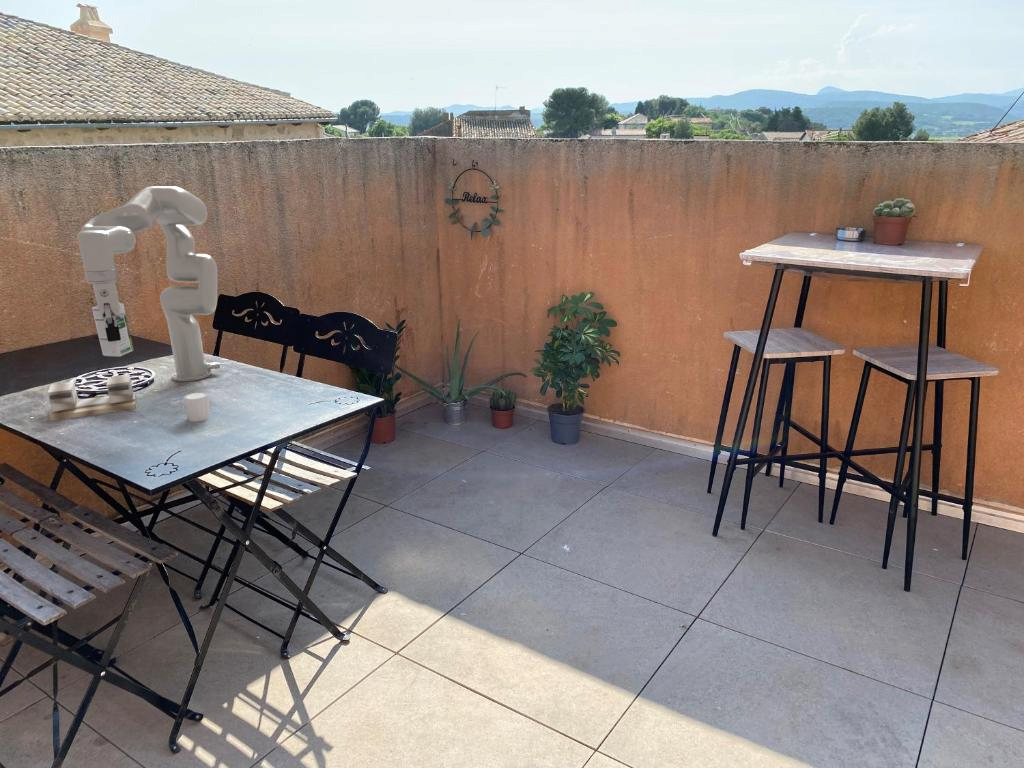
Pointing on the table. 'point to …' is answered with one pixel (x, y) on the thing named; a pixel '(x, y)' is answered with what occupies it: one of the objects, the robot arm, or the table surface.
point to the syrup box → (125, 343)
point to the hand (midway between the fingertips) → (114, 336)
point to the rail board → (91, 399)
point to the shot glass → (197, 406)
